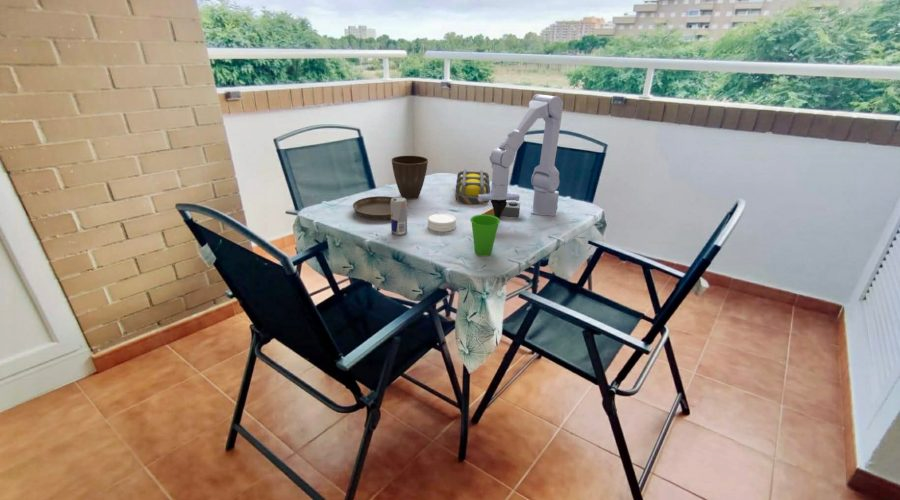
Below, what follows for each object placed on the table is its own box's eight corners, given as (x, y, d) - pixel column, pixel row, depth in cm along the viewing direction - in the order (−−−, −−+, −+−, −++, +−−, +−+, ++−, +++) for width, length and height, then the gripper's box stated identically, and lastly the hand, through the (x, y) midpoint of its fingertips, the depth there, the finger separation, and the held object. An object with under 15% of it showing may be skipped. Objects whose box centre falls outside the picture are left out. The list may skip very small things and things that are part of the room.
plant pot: (413, 189, 194) (412, 153, 187) (435, 197, 184) (435, 160, 177) (385, 195, 184) (384, 158, 178) (407, 204, 175) (406, 165, 168)
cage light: (455, 186, 173) (457, 167, 200) (454, 204, 177) (457, 184, 204) (491, 187, 173) (489, 168, 200) (490, 206, 176) (488, 185, 203)
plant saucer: (418, 212, 167) (418, 204, 166) (376, 226, 153) (376, 218, 152) (383, 200, 180) (383, 192, 178) (342, 212, 166) (341, 204, 164)
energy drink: (392, 229, 151) (391, 196, 146) (408, 229, 151) (407, 196, 146) (390, 235, 146) (389, 201, 141) (406, 235, 146) (405, 202, 141)
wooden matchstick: (482, 222, 157) (483, 213, 156) (480, 221, 157) (481, 213, 156) (495, 214, 164) (496, 206, 163) (493, 214, 165) (494, 206, 164)
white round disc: (453, 221, 160) (453, 212, 158) (458, 231, 151) (458, 222, 149) (426, 222, 158) (426, 213, 156) (429, 233, 149) (429, 223, 147)
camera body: (519, 212, 169) (520, 201, 167) (518, 219, 163) (519, 207, 161) (494, 210, 171) (495, 199, 169) (492, 216, 164) (493, 205, 162)
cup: (464, 255, 133) (466, 222, 128) (473, 244, 141) (475, 212, 136) (493, 260, 130) (495, 227, 125) (500, 249, 138) (503, 216, 133)
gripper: (517, 179, 156) (514, 215, 162) (477, 180, 155) (475, 215, 160) (522, 185, 150) (518, 222, 156) (480, 185, 148) (478, 222, 154)
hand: (497, 219), depth 158 cm, fingers closed
